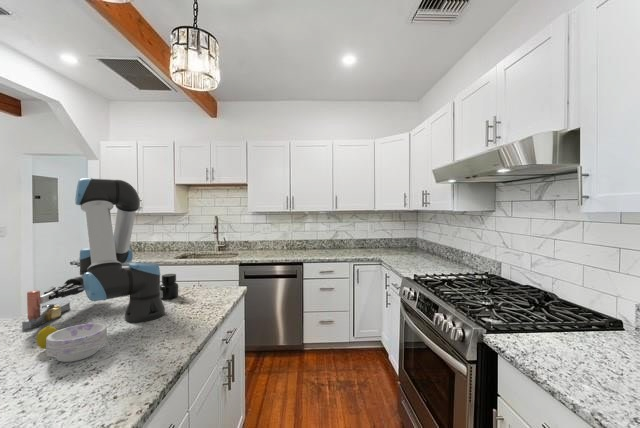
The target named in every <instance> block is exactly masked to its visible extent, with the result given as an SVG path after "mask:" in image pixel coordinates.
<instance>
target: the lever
mask: <svg viewBox="0 0 640 428" xmlns="http://www.w3.org/2000/svg"><path fill="white" fill-rule="evenodd" d="M40 296H41V290H30V291H28V292H26V304H27V307H26V310H27V312H26V313H27V320H29V322H35V321H37V320H39V319H40V318H41V317H42V316H43V315H44V314H45V313H46V312H47V311H48V310H49V309H52V308H54V306H55V304H54V303H50V304H49V303H48V304H44V305H42V306H41V304H40Z"/></svg>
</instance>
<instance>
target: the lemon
mask: <svg viewBox="0 0 640 428" xmlns="http://www.w3.org/2000/svg"><path fill="white" fill-rule="evenodd" d="M58 330H59V329H57V328H56V327H55V326H50V325H47V326H45V327H44V328H42V329H41V330H39V332H38V334H37V335H36V344H37V346H38V347H39V348H40V349H43V350H46V338H47V337H48V336H49V335H50V334H51V333H53V332H55V331H58Z"/></svg>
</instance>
